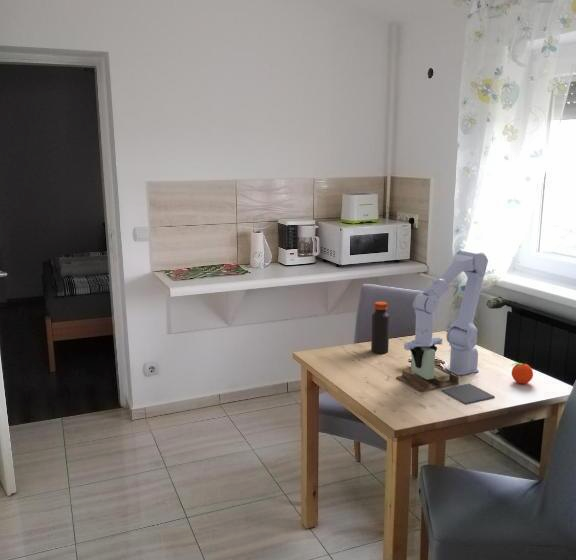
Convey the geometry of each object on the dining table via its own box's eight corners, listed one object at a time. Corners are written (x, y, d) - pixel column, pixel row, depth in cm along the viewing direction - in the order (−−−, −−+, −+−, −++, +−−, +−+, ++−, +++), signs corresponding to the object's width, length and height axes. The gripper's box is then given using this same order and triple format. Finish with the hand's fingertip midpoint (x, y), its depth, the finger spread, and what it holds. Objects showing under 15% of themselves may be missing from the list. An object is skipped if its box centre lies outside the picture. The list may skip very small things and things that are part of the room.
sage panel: (417, 369, 212) (418, 342, 210) (433, 378, 204) (435, 350, 202) (410, 370, 211) (411, 344, 208) (426, 379, 203) (428, 351, 200)
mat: (469, 384, 205) (469, 383, 205) (494, 397, 195) (494, 396, 194) (441, 390, 200) (441, 389, 200) (465, 404, 190) (465, 402, 190)
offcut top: (435, 370, 215) (435, 367, 214) (449, 377, 208) (449, 374, 207) (423, 372, 213) (423, 369, 212) (437, 379, 206) (438, 377, 205)
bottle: (380, 355, 235) (382, 306, 231) (367, 351, 240) (368, 303, 235) (391, 351, 239) (393, 303, 235) (378, 347, 244) (379, 300, 240)
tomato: (505, 383, 206) (507, 364, 204) (509, 377, 212) (511, 358, 210) (530, 388, 202) (532, 368, 200) (533, 381, 208) (535, 362, 206)
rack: (432, 370, 218) (433, 364, 218) (458, 384, 206) (458, 377, 205) (396, 378, 212) (396, 371, 211) (420, 392, 199) (420, 384, 199)
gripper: (413, 335, 197) (412, 373, 200) (448, 329, 203) (446, 366, 206) (401, 329, 203) (399, 366, 206) (435, 323, 209) (433, 360, 212)
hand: (422, 366), depth 207 cm, fingers closed on sage panel, 3 cm apart
